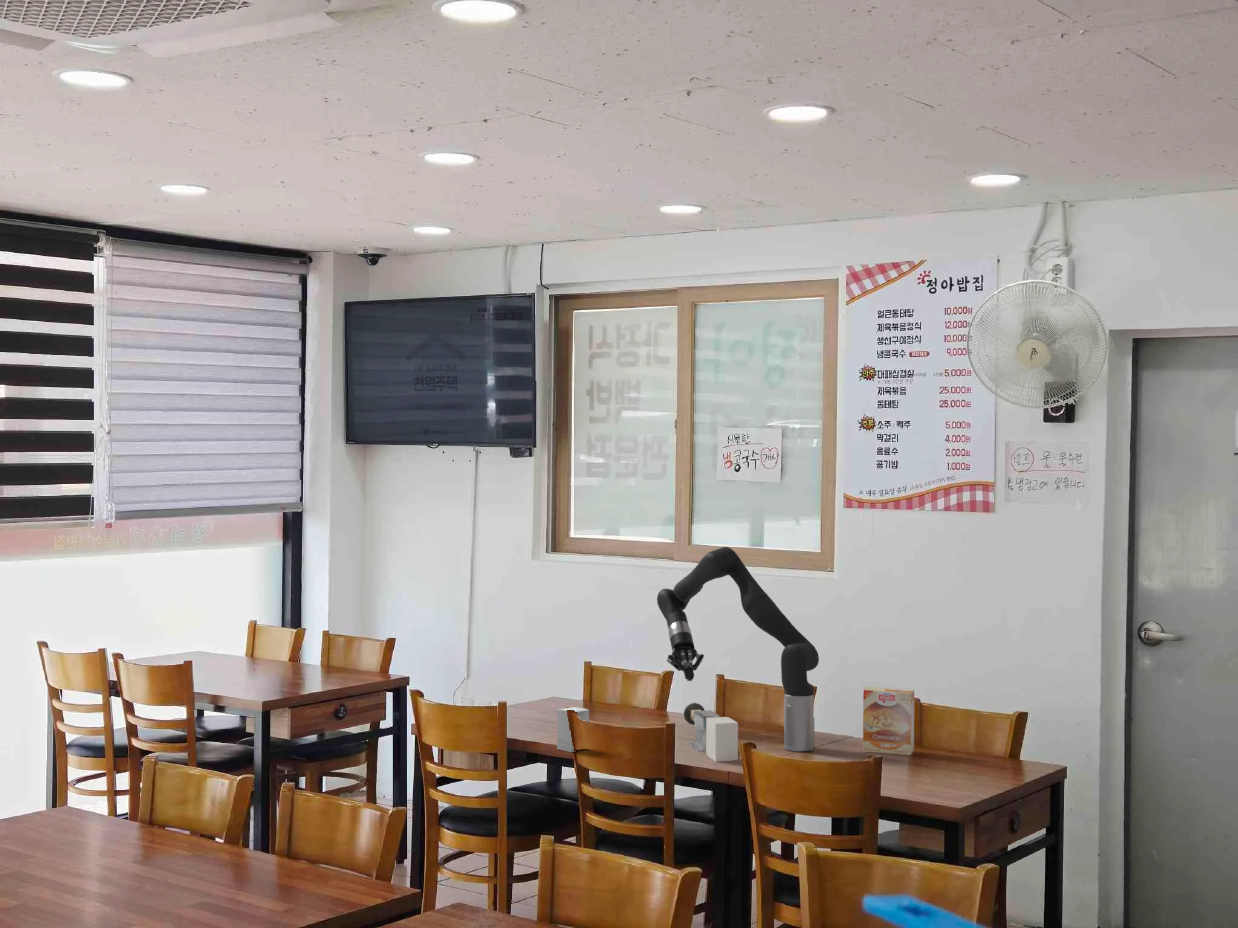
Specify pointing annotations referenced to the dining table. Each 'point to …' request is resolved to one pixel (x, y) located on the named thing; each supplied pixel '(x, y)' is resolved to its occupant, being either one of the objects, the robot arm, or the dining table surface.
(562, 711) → the supplement box
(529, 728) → the dining table surface
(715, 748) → the white rectangular block
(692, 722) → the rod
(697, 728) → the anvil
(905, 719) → the coffeecake box
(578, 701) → the dining table surface
